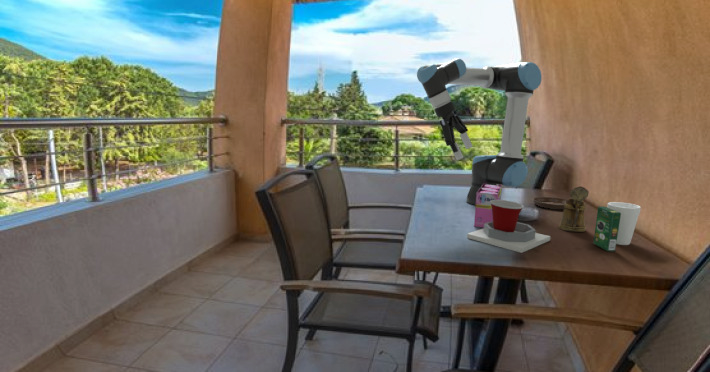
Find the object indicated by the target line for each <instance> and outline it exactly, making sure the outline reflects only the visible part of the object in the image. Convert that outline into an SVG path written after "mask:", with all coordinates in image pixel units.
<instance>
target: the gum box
mask: <svg viewBox="0 0 710 372" xmlns="http://www.w3.org/2000/svg"><path fill="white" fill-rule="evenodd" d="M502 190H503V185H502V184H496V185H487V183H484V184H483V185H482V186H481V188H480V189H479V190H478V191H477V192H476V205H475V207H474V211H475V212H474V223H473V227H476V228H477V227H478V228H482V229H483V228H484V223H487V222H491V221H493V215H492V205H491V203H490V201H491V200H502V193H503V191H502Z"/></svg>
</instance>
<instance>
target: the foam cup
mask: <svg viewBox="0 0 710 372" xmlns="http://www.w3.org/2000/svg"><path fill="white" fill-rule="evenodd" d="M606 207H607V208H610V209H612V210H615V211H617V212H620V213H621V217H620V223H619V229H618V236H617V242H616V245H619V246H620V245H621V246H628V245H630V244H631V242H632V239H633V235H634V232H635V229H636V225H637V222H638V219H639V216H640V215H641V208H642V207H641V206H640V205H638V204H634V203H629V202H621V201H619V202H618V201H612V202H611V201H610V202H607V206H606Z"/></svg>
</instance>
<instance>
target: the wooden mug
mask: <svg viewBox="0 0 710 372" xmlns="http://www.w3.org/2000/svg"><path fill="white" fill-rule="evenodd" d="M589 194H590V193H589V190H588V189H587V188H585V187H584V186H577V187H574V188H572V189H571V190H570V191H569V197H570V198H567V199H566V203H565V205H564V207H565V208H564V209H563V213H562V215H561V220H560V222H559V224H558V228H559V229H560V230H562V231H566V232H570V233H571V232H572V233H584V232H586V225H585V224H586V222H585V210H586V204H585V201H584V200H585V199H587V198H588V197H589Z"/></svg>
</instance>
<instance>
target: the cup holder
mask: <svg viewBox="0 0 710 372" xmlns="http://www.w3.org/2000/svg"><path fill="white" fill-rule="evenodd" d="M466 238H467V239H468V240H469V239H470V240H474V241H478V242H480V243H484V244H489V245H491V246H496V247H500V248H503V249H505V250H509V251H514V252H517V253H525V252H527V251H529V250H531V249H534V248H537V247H539V246H541V245H543V244H545V243H547V242H550V241H551V236H550V235H546V234H543V233H542V234H541V233H537V231H536V229H535V228H534V227H533V226H531V224H528V223H523V222H518V221H517V224H516V228H515V230H514V232H505V231H501V230H496V229H494V226H493V221H491V222H487V223H484V228H483V227H482V228H481V229H477V230H474V231H472V232H471V231H470V232H468V233H466Z"/></svg>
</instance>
